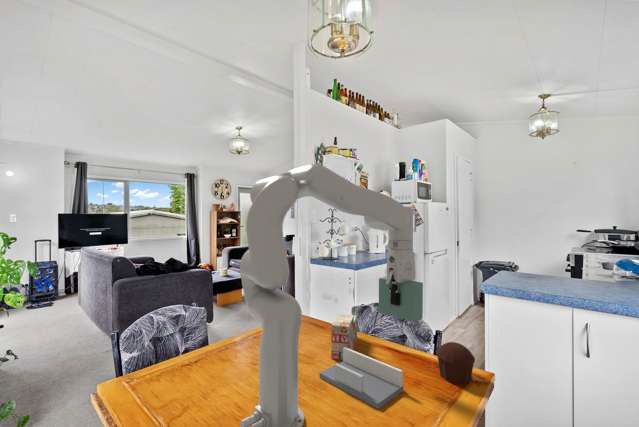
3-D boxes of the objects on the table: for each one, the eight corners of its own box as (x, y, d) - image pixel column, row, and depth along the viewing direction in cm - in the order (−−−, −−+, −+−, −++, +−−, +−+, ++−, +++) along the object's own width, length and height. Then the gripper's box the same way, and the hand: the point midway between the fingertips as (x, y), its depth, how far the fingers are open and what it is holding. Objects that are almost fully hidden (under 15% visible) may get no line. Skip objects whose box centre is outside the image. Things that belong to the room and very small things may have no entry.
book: (415, 322, 93) (415, 284, 93) (378, 312, 102) (378, 278, 102) (422, 318, 96) (422, 282, 96) (386, 309, 105) (386, 276, 106)
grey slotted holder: (378, 409, 82) (378, 386, 82) (319, 377, 98) (319, 358, 98) (403, 390, 91) (403, 369, 91) (345, 364, 107) (345, 346, 107)
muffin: (481, 387, 93) (481, 353, 93) (443, 386, 93) (443, 352, 93) (465, 368, 104) (465, 337, 104) (431, 366, 105) (431, 337, 105)
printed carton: (342, 336, 131) (342, 307, 131) (357, 338, 130) (357, 308, 130) (331, 359, 111) (331, 324, 111) (348, 361, 109) (348, 325, 109)
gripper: (396, 248, 91) (395, 311, 91) (424, 244, 102) (424, 300, 102) (374, 246, 96) (374, 306, 96) (404, 243, 108) (403, 296, 108)
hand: (399, 302), depth 99 cm, fingers closed on book, 4 cm apart
